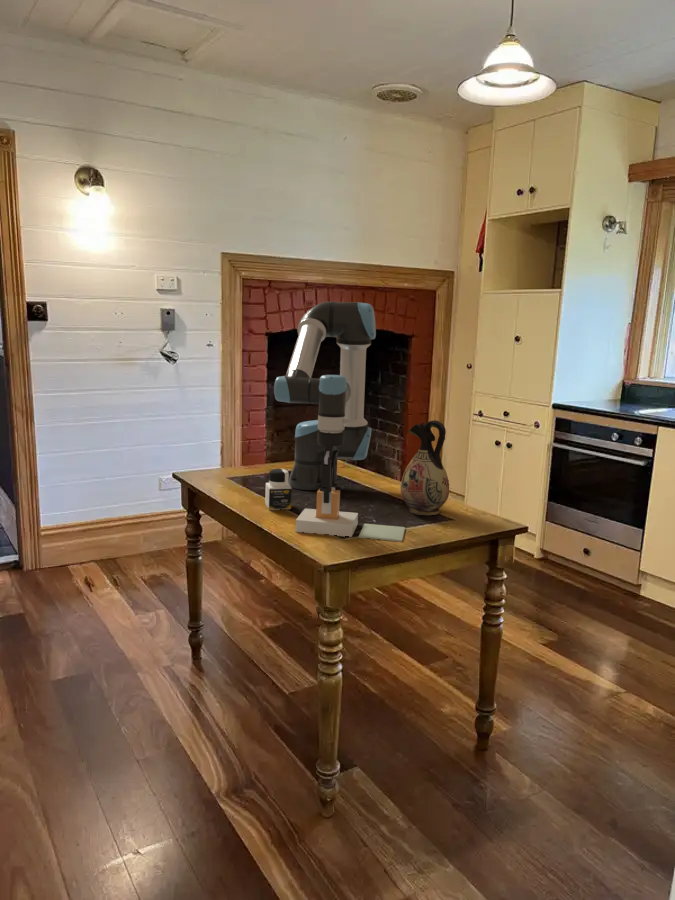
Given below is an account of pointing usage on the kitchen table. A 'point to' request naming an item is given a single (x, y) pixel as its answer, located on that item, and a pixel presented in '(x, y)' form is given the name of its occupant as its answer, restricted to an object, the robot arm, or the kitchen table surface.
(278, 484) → the medicine bottle
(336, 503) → the plug
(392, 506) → the kitchen table surface
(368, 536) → the mat
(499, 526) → the kitchen table surface
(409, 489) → the ceramic jug
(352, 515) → the socket housing
